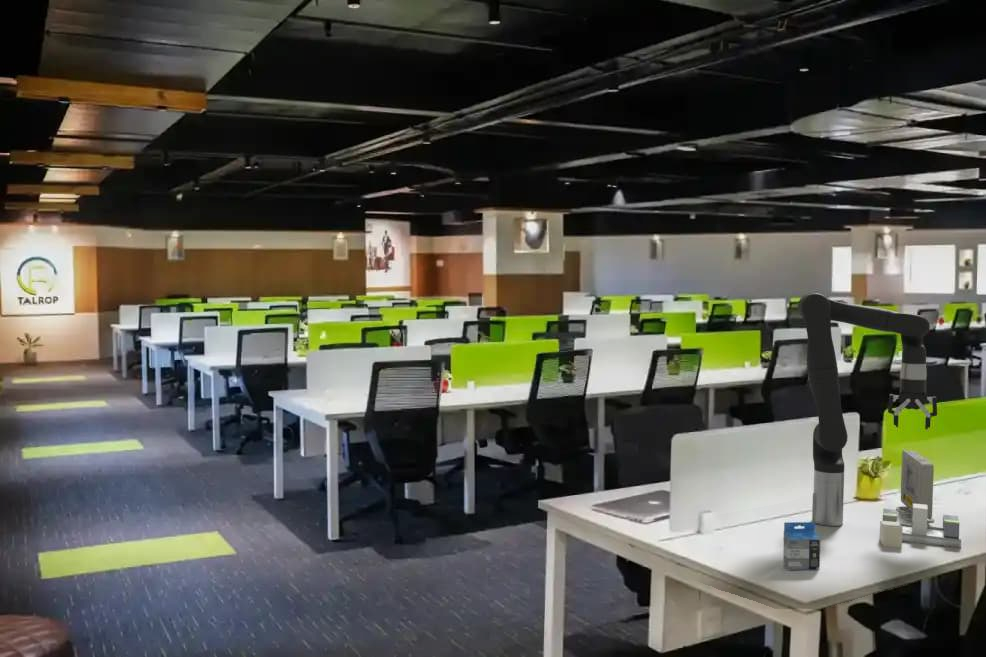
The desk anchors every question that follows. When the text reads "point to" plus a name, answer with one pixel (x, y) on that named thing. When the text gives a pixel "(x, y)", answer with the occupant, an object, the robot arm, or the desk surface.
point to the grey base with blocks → (930, 531)
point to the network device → (916, 483)
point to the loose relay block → (891, 533)
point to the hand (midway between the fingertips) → (911, 427)
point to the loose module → (919, 519)
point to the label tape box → (801, 547)
